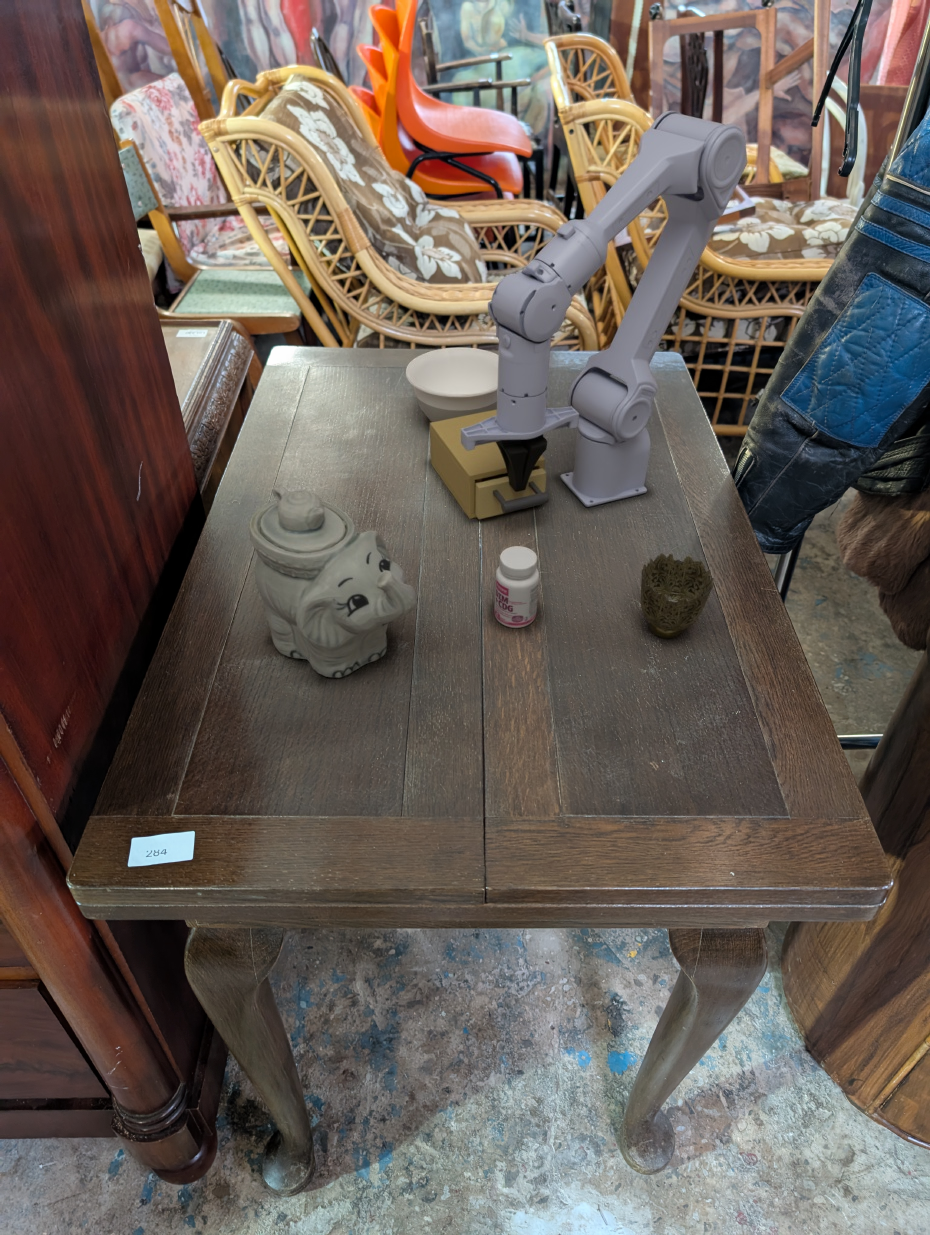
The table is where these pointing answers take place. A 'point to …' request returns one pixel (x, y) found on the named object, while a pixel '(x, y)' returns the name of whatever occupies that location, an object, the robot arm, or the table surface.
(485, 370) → the bowl
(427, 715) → the table surface
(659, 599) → the cup
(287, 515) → the grey elephant cookie jar
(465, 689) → the table surface
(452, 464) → the cabinet
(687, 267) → the robot arm
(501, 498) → the drawer
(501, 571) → the pill bottle
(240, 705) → the table surface
